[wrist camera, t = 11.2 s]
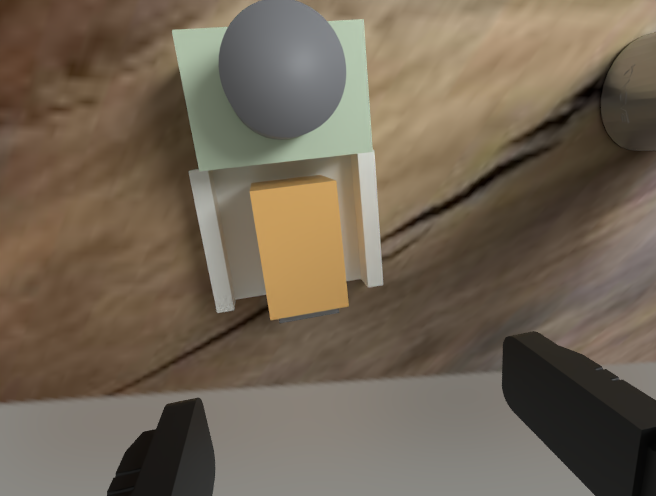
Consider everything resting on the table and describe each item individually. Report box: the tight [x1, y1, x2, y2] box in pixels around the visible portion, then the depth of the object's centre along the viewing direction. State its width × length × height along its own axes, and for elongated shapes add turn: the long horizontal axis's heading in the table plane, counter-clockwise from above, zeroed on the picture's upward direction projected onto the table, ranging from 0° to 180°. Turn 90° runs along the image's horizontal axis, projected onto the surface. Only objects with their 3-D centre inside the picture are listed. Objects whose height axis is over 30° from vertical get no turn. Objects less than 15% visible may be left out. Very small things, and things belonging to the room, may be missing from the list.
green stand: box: [172, 0, 383, 313], centre depth 22 cm, size 12×17×10 cm
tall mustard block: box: [250, 175, 349, 323], centre depth 25 cm, size 5×9×6 cm, turn 6°
